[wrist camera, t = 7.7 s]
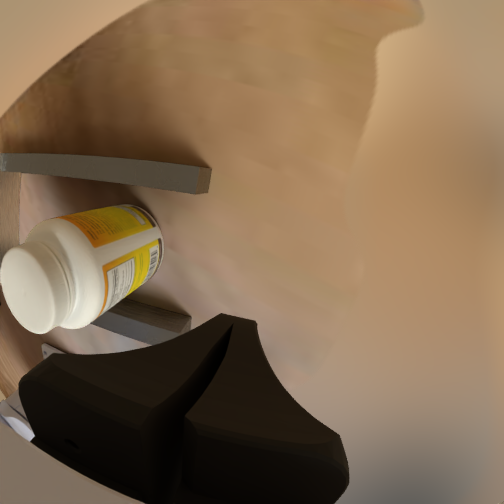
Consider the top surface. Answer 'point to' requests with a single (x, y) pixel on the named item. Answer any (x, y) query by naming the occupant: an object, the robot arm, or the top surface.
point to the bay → (110, 170)
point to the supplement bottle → (80, 266)
